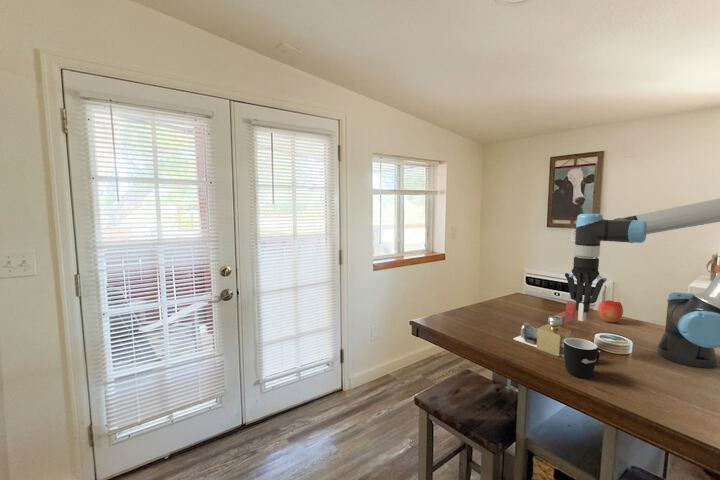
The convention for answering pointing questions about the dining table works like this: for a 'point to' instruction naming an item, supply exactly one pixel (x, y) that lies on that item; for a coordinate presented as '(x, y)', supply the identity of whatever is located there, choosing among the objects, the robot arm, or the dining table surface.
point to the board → (529, 343)
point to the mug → (580, 357)
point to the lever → (564, 315)
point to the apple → (610, 310)
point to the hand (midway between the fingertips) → (581, 320)
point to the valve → (546, 337)
